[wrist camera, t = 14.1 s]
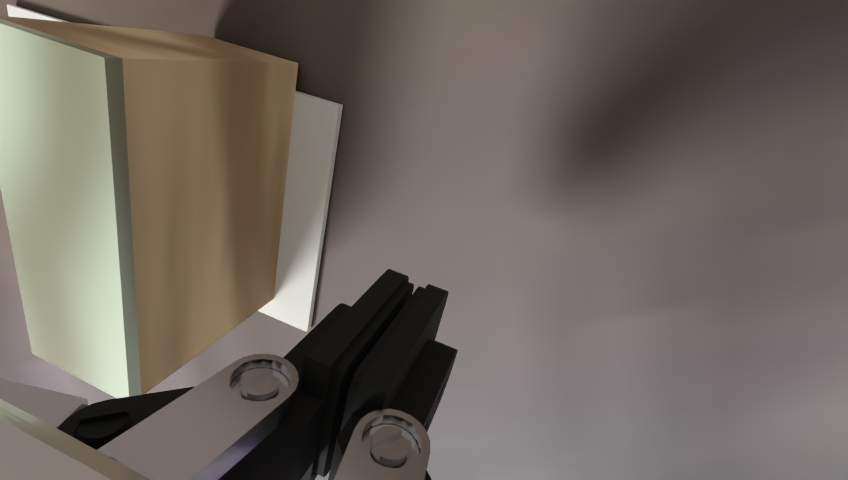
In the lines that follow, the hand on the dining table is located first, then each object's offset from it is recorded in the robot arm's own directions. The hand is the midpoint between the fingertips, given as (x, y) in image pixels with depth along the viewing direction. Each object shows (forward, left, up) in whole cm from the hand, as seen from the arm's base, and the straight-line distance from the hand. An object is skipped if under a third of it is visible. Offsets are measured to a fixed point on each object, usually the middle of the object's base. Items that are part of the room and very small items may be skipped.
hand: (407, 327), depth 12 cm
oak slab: (+9, 0, -5) cm, 10 cm away
